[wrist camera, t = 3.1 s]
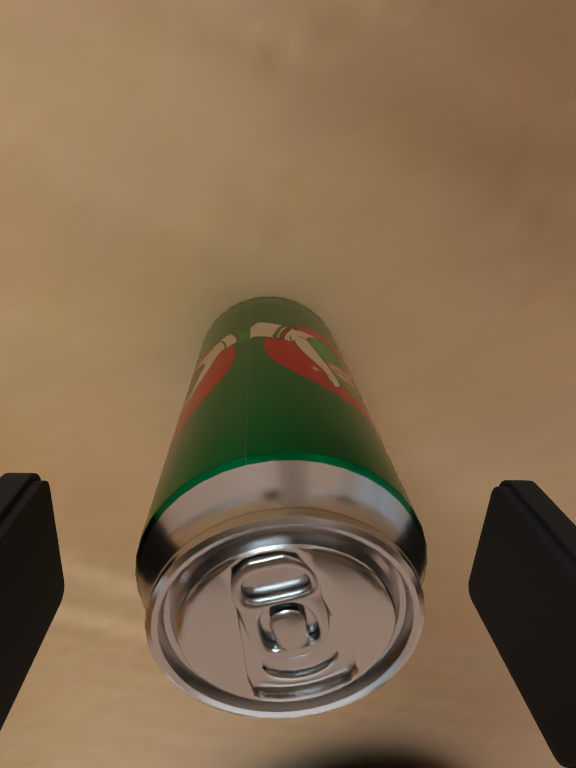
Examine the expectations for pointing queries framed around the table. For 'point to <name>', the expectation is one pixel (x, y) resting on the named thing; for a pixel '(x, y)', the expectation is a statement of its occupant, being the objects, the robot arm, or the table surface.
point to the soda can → (279, 528)
